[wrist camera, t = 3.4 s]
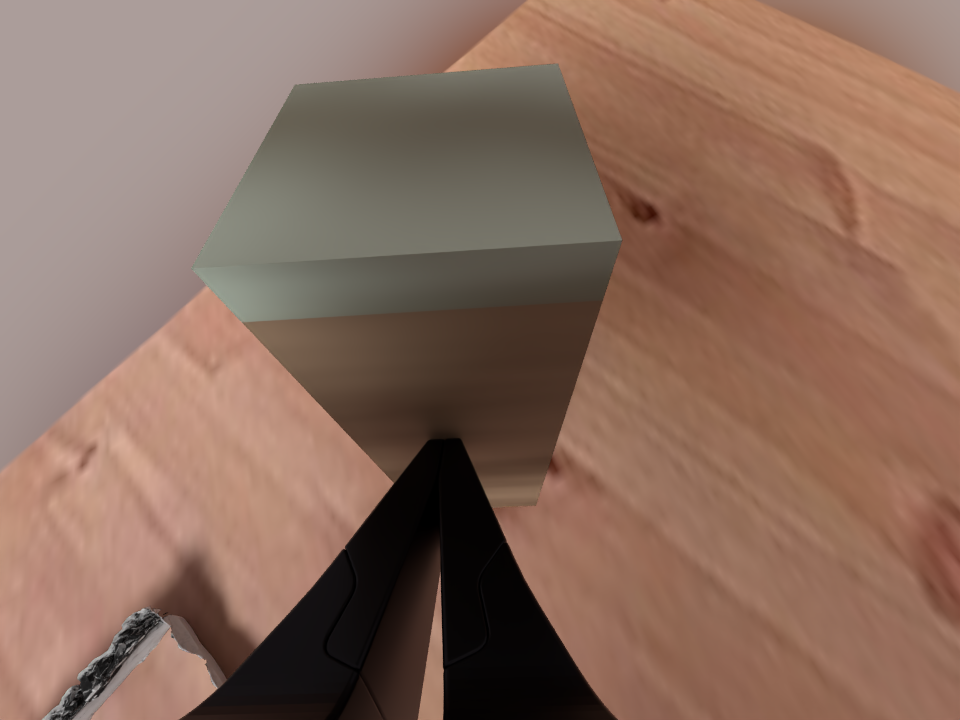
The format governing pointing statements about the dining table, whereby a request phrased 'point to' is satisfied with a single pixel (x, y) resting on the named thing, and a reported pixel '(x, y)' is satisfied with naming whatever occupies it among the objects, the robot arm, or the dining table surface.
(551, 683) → the robot arm
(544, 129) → the grey-green metal block
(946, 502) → the dining table surface
